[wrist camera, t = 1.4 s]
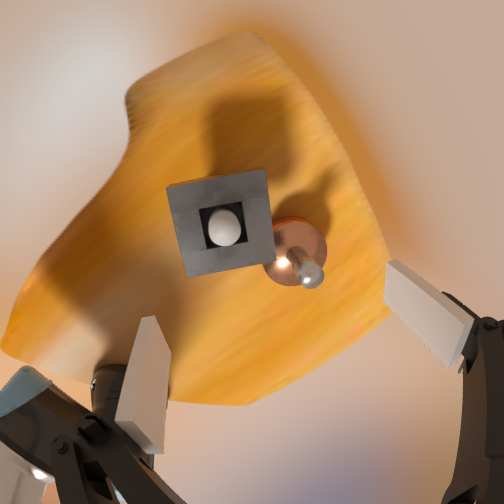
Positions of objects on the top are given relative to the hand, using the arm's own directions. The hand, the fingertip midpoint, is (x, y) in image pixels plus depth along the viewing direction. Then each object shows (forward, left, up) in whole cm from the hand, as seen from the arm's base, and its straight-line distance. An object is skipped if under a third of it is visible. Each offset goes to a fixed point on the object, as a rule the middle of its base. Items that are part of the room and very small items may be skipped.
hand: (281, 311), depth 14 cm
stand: (-2, +1, -21) cm, 21 cm away
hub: (+6, -6, -21) cm, 23 cm away
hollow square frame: (-2, +1, -15) cm, 15 cm away
